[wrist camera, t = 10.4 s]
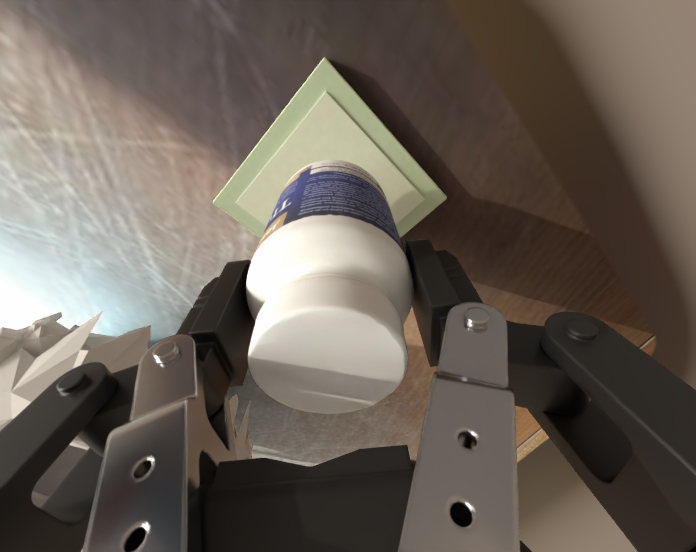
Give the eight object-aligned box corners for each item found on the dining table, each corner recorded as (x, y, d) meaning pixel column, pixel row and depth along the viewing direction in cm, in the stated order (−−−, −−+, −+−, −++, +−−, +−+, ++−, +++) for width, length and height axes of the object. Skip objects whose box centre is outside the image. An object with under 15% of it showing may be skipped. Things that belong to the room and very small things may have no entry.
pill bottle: (280, 148, 14) (201, 267, 6) (397, 165, 15) (470, 294, 6) (278, 252, 17) (224, 424, 9) (375, 263, 18) (406, 434, 10)
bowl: (-93, 309, 21) (-371, 470, 13) (185, 241, 19) (65, 384, 10) (110, 456, 33) (34, 591, 24) (298, 425, 30) (284, 563, 22)
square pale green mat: (444, 194, 18) (448, 198, 17) (334, 288, 21) (334, 294, 20) (325, 56, 14) (324, 56, 13) (215, 198, 17) (211, 203, 17)
